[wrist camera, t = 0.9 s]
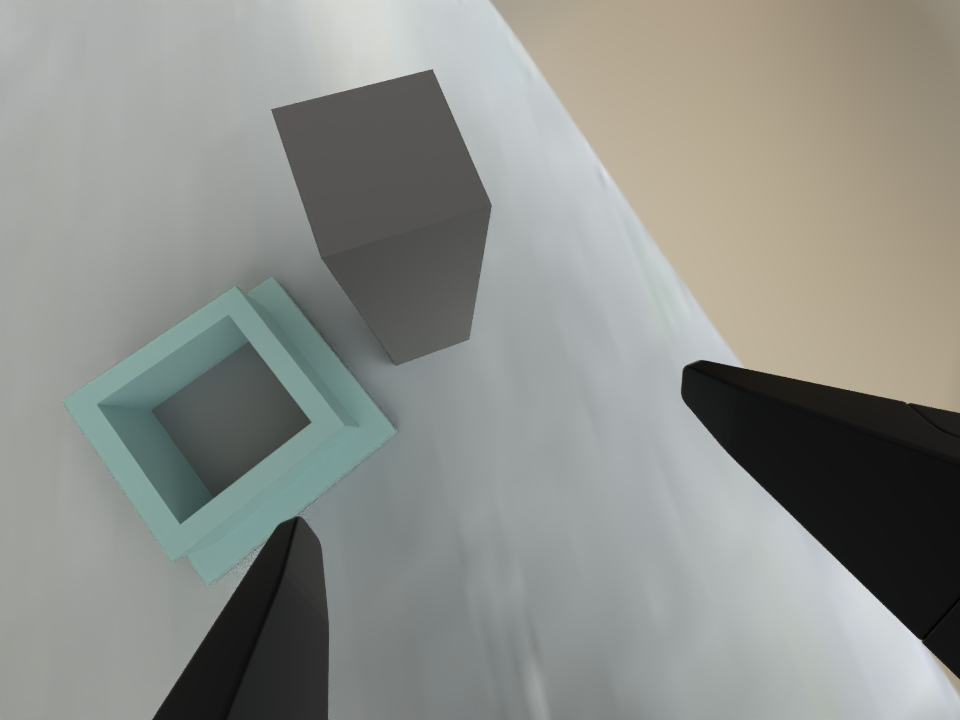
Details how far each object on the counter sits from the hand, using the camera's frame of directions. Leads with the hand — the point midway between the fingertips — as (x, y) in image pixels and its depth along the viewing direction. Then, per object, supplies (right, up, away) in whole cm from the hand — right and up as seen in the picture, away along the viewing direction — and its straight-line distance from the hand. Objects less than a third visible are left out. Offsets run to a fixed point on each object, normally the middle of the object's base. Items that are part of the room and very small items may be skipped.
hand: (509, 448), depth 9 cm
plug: (-4, +4, +14) cm, 15 cm away
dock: (-13, -1, +12) cm, 18 cm away
